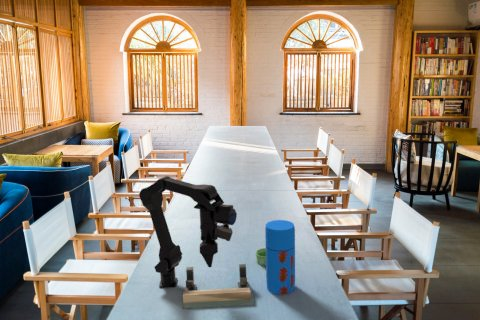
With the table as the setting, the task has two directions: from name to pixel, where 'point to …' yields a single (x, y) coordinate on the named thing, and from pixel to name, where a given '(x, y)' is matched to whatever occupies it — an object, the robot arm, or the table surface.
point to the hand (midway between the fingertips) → (210, 261)
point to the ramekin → (261, 256)
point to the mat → (219, 303)
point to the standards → (192, 287)
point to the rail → (216, 295)
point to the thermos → (280, 256)
